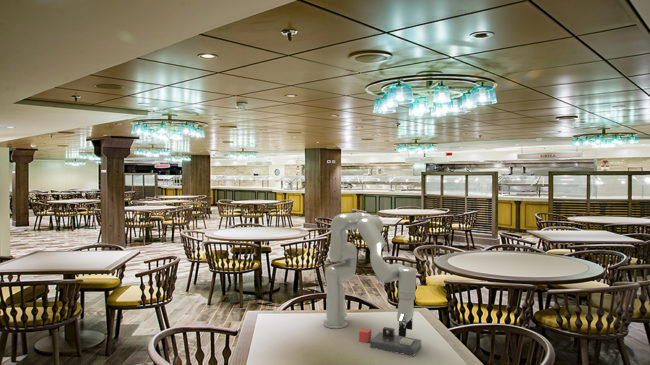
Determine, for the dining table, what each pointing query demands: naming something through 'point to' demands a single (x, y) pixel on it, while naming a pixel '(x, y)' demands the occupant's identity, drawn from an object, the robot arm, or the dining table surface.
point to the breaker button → (406, 341)
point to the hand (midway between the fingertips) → (405, 332)
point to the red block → (365, 335)
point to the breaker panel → (393, 342)
